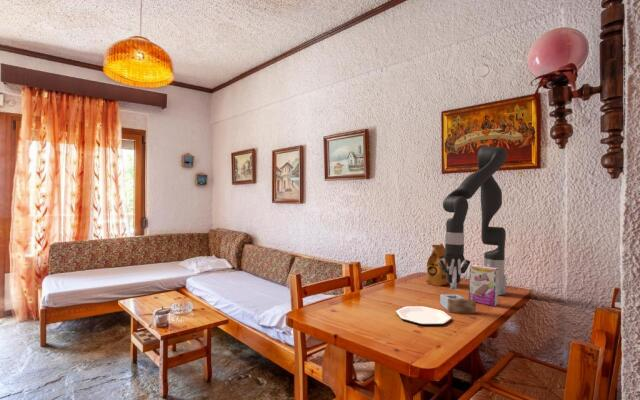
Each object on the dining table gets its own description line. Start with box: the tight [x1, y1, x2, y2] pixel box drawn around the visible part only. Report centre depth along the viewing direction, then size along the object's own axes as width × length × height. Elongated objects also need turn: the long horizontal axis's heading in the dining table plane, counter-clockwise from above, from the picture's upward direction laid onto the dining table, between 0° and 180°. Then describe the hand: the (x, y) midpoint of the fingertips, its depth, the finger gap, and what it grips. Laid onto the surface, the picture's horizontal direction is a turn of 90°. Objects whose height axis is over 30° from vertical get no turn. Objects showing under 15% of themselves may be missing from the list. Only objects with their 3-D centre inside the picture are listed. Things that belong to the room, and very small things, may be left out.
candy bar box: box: [468, 264, 499, 307], centre depth 155 cm, size 11×5×16 cm, turn 47°
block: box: [439, 293, 465, 311], centre depth 147 cm, size 8×8×4 cm
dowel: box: [449, 266, 458, 291], centre depth 147 cm, size 3×3×10 cm
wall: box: [447, 298, 477, 314], centre depth 143 cm, size 11×2×5 cm, turn 92°
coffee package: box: [425, 242, 449, 287], centre depth 190 cm, size 10×12×22 cm
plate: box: [395, 305, 452, 326], centre depth 135 cm, size 20×20×2 cm
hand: (453, 282), depth 147 cm, fingers closed on dowel, 2 cm apart
